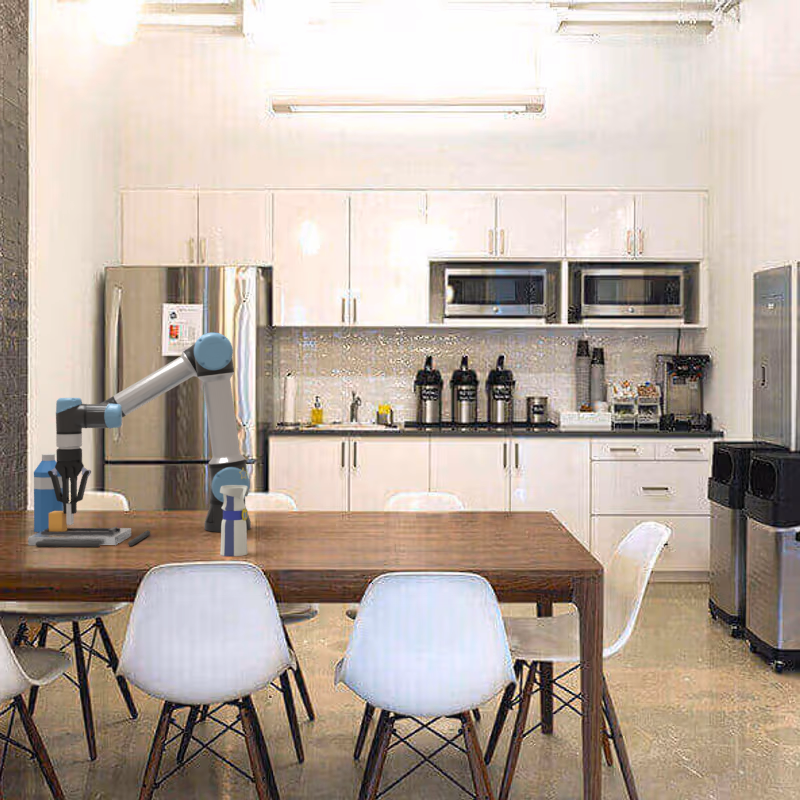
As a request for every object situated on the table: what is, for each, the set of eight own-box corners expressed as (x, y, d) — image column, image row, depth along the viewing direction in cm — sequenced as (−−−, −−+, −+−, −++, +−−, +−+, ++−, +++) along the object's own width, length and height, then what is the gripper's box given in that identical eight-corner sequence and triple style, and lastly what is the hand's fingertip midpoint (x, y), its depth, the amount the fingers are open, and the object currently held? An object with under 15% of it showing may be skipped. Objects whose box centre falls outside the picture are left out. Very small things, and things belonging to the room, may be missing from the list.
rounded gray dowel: (145, 535, 321) (145, 530, 321) (150, 535, 321) (150, 530, 321) (127, 546, 300) (127, 541, 300) (132, 546, 300) (132, 541, 300)
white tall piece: (253, 551, 292) (253, 465, 292) (242, 556, 284) (242, 468, 283) (227, 550, 294) (226, 465, 294) (215, 555, 286) (215, 467, 285)
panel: (131, 535, 320) (131, 524, 320) (115, 545, 302) (115, 532, 302) (49, 535, 320) (49, 523, 320) (28, 545, 302) (28, 532, 302)
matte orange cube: (67, 530, 314) (67, 510, 314) (61, 532, 309) (61, 513, 309) (54, 530, 314) (54, 510, 314) (48, 532, 309) (48, 513, 309)
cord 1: (100, 546, 301) (99, 541, 300) (98, 547, 299) (98, 542, 299) (36, 546, 301) (36, 541, 301) (34, 547, 299) (34, 541, 299)
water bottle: (54, 533, 326) (53, 455, 325) (28, 532, 328) (27, 455, 327) (69, 528, 335) (68, 453, 334) (43, 527, 337) (43, 453, 336)
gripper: (93, 446, 314) (94, 522, 315) (52, 447, 314) (53, 522, 315) (86, 448, 307) (87, 526, 307) (44, 448, 307) (44, 526, 307)
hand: (70, 524), depth 311 cm, fingers closed
